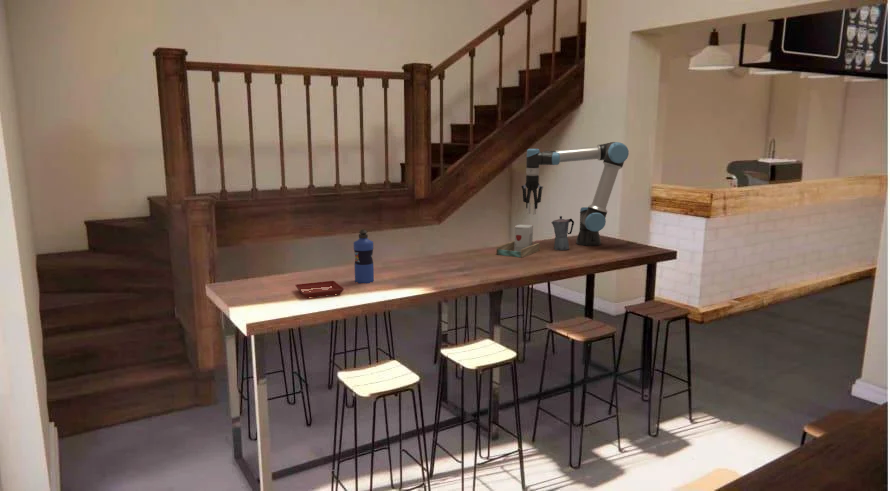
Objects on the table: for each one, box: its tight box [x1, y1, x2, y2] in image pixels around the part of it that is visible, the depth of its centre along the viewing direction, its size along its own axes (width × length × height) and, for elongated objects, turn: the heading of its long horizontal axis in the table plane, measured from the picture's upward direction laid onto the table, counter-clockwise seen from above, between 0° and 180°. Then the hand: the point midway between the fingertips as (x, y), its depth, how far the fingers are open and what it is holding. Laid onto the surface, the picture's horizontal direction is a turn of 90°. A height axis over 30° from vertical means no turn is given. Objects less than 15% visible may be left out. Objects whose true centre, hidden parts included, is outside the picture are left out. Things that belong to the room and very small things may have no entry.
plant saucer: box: [295, 280, 345, 299], centre depth 284 cm, size 18×18×3 cm
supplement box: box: [513, 224, 534, 252], centre depth 377 cm, size 9×9×15 cm
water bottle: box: [353, 229, 375, 284], centre depth 302 cm, size 9×9×25 cm
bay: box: [496, 239, 541, 258], centre depth 372 cm, size 16×24×4 cm
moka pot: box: [551, 215, 575, 251], centre depth 380 cm, size 10×15×20 cm, turn 115°
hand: (531, 214), depth 383 cm, fingers open, 3 cm apart
